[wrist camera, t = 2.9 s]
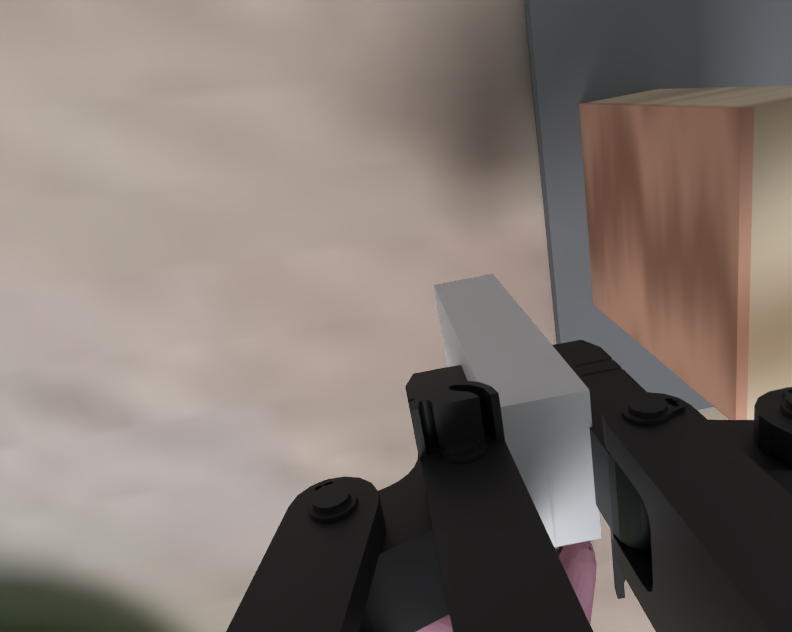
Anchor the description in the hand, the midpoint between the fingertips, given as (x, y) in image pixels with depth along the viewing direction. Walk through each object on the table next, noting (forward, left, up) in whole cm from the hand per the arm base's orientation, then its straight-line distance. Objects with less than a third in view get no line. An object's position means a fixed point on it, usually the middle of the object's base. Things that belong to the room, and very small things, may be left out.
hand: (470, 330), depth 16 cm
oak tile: (0, +8, -9) cm, 12 cm away
